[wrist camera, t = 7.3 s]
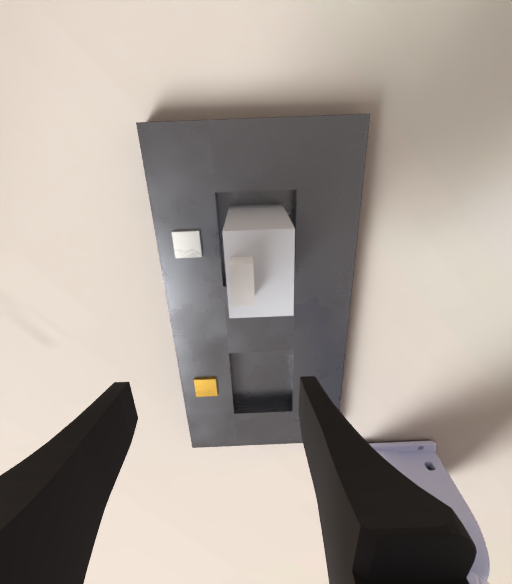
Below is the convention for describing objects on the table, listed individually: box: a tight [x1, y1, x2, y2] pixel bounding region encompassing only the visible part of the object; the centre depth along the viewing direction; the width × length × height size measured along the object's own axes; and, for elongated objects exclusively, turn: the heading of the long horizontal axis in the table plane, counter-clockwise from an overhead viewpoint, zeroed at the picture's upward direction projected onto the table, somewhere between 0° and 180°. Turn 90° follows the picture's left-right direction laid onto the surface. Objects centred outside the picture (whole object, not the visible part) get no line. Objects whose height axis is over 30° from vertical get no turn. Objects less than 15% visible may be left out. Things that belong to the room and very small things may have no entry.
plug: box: [222, 204, 295, 318], centre depth 17 cm, size 3×4×7 cm
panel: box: [136, 114, 370, 448], centre depth 22 cm, size 12×24×2 cm, turn 2°
